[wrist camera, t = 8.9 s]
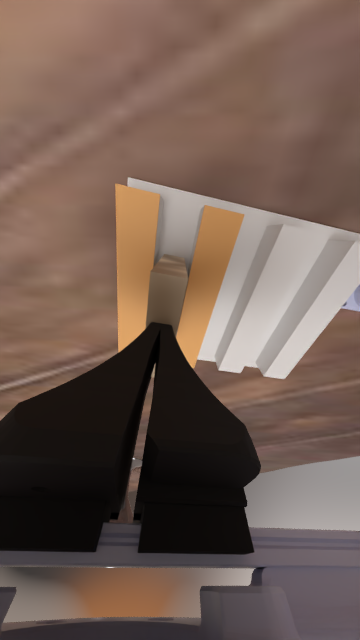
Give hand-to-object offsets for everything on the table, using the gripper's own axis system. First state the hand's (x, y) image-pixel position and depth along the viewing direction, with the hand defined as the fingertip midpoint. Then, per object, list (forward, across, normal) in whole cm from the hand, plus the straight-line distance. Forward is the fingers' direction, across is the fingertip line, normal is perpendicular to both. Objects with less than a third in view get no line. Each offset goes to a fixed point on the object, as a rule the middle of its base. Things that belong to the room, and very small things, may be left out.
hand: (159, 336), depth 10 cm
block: (+8, 0, 0) cm, 8 cm away
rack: (+9, -6, 0) cm, 11 cm away
